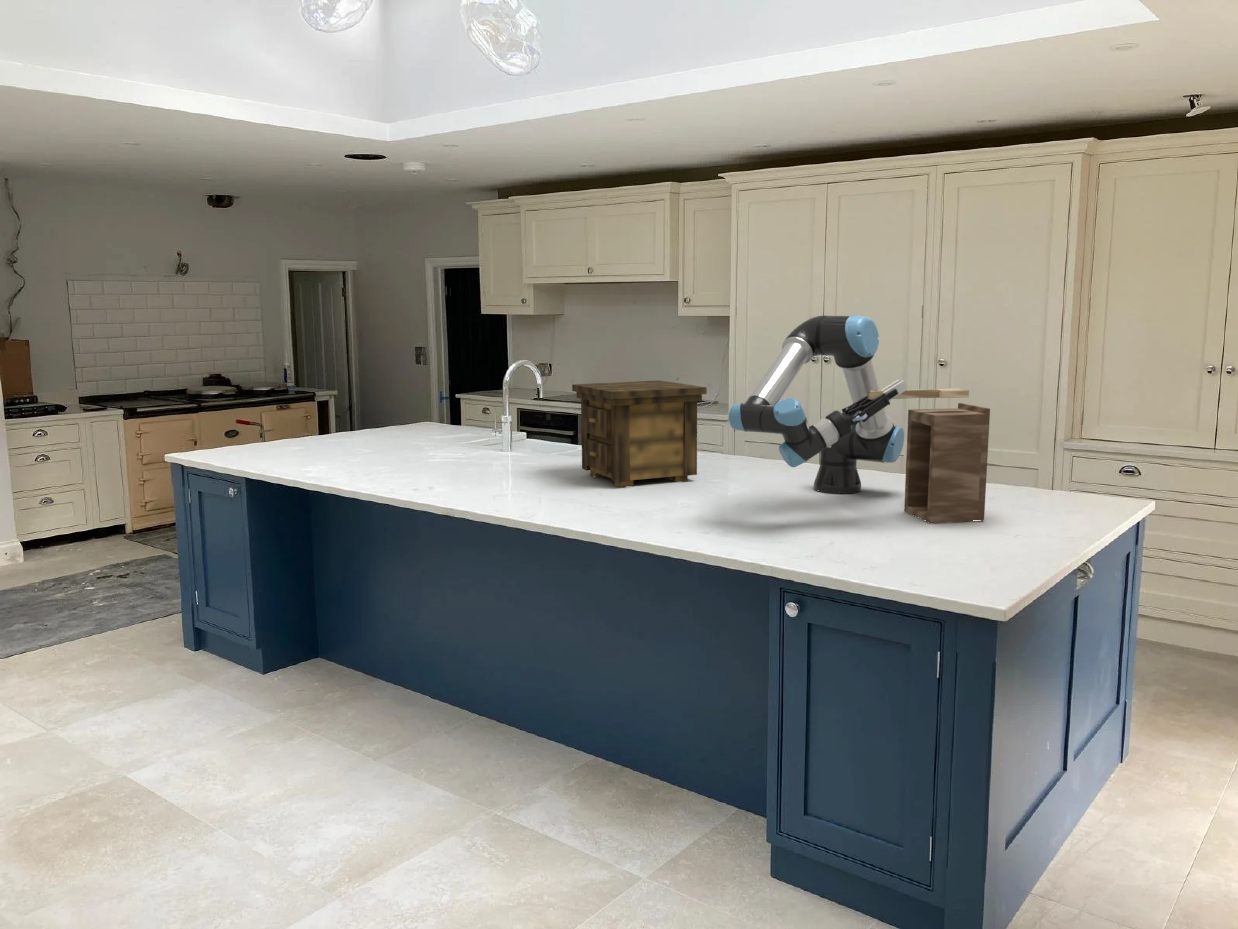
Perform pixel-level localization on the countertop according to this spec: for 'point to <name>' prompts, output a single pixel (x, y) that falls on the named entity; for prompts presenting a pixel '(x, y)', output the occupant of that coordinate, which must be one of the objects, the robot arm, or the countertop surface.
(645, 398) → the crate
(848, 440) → the robot arm
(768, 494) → the countertop surface
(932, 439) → the walnut shelf
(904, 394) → the beige long flat part
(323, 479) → the countertop surface
